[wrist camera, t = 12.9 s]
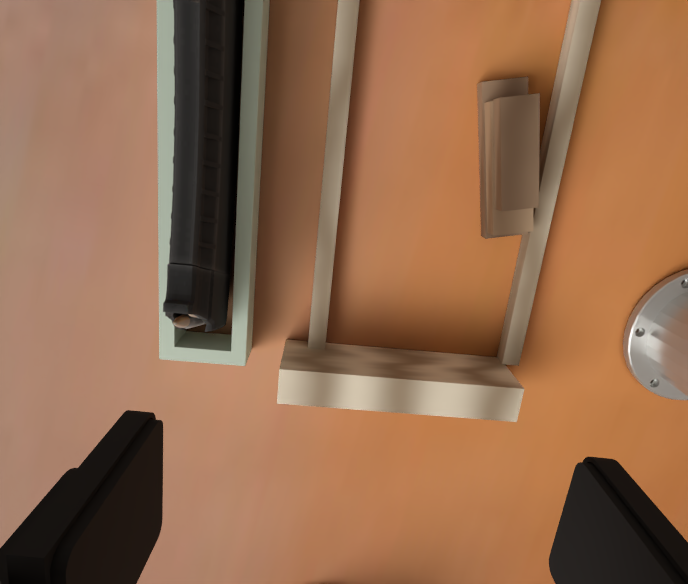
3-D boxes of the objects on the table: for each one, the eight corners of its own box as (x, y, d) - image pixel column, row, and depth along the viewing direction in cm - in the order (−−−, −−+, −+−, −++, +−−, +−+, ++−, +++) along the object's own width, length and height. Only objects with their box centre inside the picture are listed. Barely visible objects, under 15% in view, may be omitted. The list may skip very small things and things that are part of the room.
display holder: (277, -142, 33) (271, -173, 30) (251, 348, 44) (245, 366, 40) (173, -156, 33) (155, -190, 30) (172, 342, 43) (159, 359, 40)
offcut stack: (520, 79, 38) (545, 70, 34) (521, 230, 42) (543, 240, 37) (476, 84, 38) (494, 76, 34) (480, 235, 42) (497, 245, 37)
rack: (619, -126, 34) (677, -180, 28) (506, 387, 46) (531, 422, 40) (323, -168, 33) (321, -233, 27) (283, 369, 44) (277, 403, 39)
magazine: (159, -246, 25) (104, 346, 25) (224, -236, 25) (169, 352, 25) (223, -26, 42) (191, 323, 42) (262, -21, 42) (229, 327, 42)
